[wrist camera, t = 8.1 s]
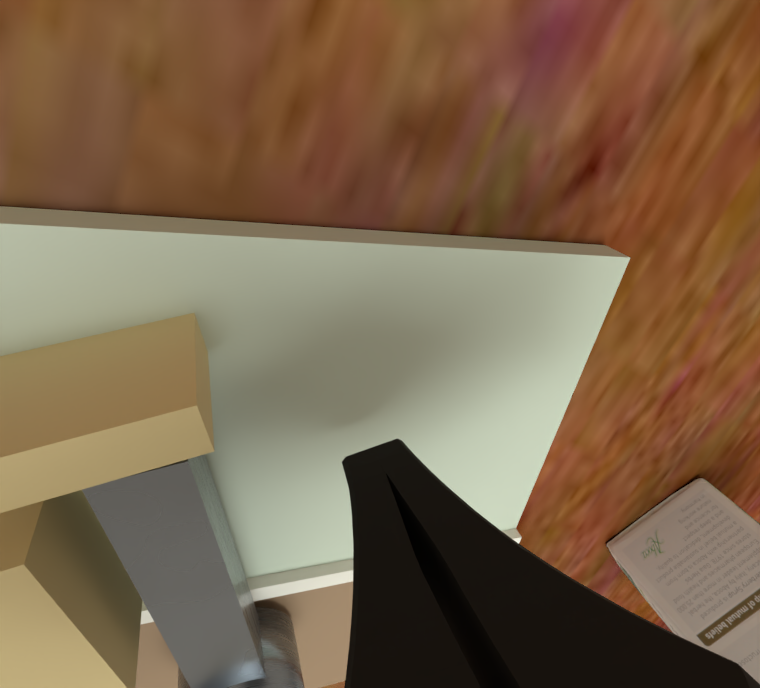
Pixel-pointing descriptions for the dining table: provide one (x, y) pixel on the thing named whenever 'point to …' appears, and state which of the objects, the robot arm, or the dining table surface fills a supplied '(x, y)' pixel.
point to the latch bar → (195, 578)
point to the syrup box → (699, 570)
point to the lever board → (259, 405)
